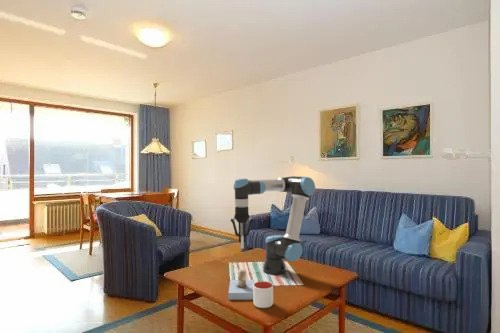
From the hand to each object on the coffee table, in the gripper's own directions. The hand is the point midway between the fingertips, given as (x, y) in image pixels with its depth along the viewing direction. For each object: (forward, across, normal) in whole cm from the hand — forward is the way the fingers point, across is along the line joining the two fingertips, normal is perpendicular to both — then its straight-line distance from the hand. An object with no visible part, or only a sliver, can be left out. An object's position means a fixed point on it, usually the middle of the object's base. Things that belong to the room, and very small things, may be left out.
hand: (242, 247), depth 174 cm
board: (+24, +1, +3) cm, 24 cm away
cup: (+24, -10, +18) cm, 32 cm away
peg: (+24, +1, +3) cm, 24 cm away
